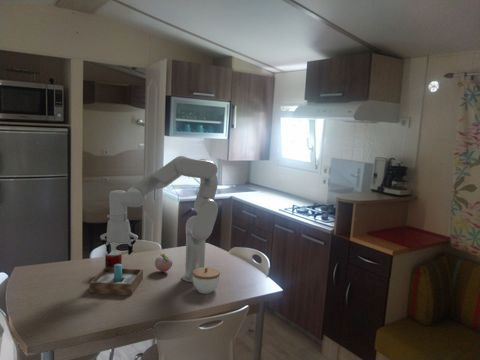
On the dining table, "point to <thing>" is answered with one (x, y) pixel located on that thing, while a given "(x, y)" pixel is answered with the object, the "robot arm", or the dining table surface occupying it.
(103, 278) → the bore box
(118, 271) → the peg
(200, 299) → the dining table surface
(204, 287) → the lidded bowl
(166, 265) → the decorative fruit
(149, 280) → the dining table surface
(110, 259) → the canned food
